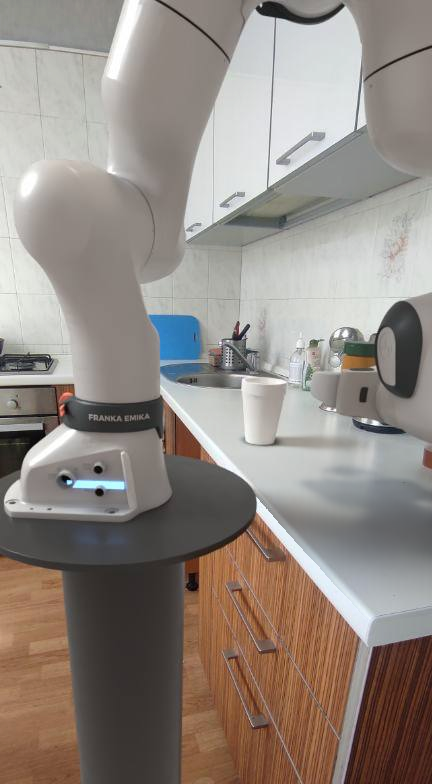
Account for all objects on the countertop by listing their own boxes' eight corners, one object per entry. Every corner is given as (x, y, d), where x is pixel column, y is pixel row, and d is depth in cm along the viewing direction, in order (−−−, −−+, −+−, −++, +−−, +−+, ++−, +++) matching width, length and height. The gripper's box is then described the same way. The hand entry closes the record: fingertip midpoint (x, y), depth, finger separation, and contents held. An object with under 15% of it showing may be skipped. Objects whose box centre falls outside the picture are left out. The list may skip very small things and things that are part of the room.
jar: (344, 412, 77) (353, 346, 74) (330, 405, 83) (338, 343, 79) (377, 412, 79) (388, 347, 75) (361, 405, 84) (370, 344, 80)
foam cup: (232, 435, 104) (235, 377, 100) (270, 433, 107) (275, 376, 103) (248, 448, 96) (252, 385, 91) (288, 445, 99) (294, 384, 94)
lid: (351, 355, 74) (353, 343, 74) (336, 351, 80) (337, 340, 79) (387, 356, 75) (389, 344, 75) (369, 352, 81) (371, 341, 80)
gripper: (466, 372, 68) (413, 361, 80) (334, 370, 64) (301, 358, 77) (457, 415, 70) (407, 397, 83) (329, 415, 66) (297, 396, 79)
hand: (355, 378), depth 80 cm, fingers closed on jar, 6 cm apart
